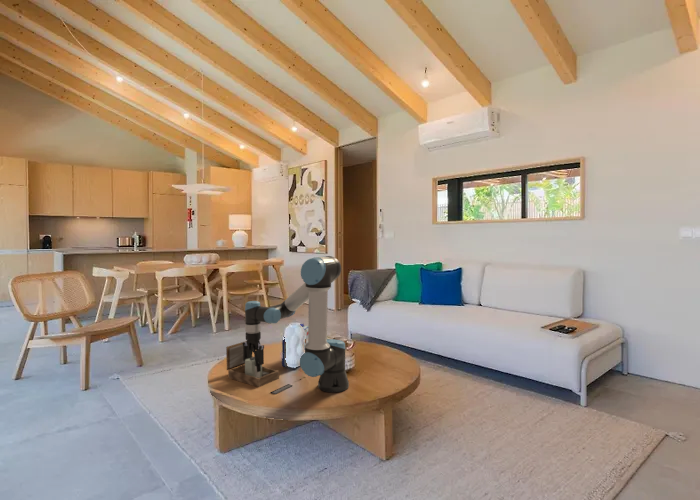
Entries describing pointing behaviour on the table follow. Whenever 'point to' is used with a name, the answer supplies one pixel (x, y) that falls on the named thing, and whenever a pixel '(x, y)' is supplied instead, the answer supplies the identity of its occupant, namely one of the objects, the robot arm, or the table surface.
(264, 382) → the case
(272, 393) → the mat
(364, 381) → the table surface
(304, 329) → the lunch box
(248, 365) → the block
